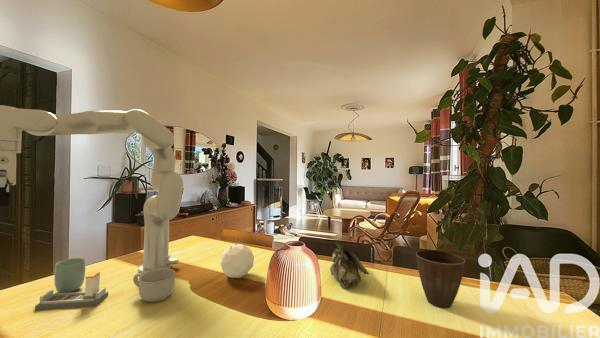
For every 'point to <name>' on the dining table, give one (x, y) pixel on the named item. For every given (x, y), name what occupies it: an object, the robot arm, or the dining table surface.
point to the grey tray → (69, 300)
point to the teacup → (155, 284)
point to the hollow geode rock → (346, 267)
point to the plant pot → (440, 276)
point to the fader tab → (92, 285)
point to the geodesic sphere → (237, 260)
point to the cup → (69, 274)
